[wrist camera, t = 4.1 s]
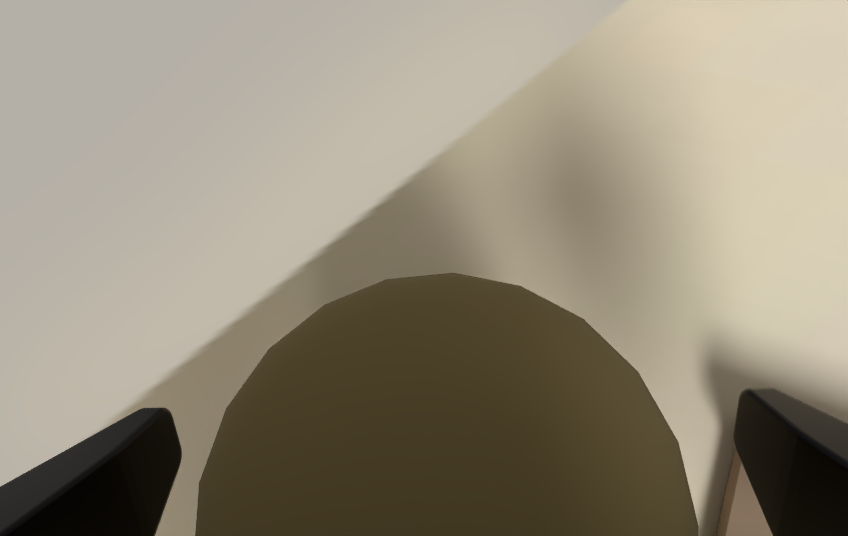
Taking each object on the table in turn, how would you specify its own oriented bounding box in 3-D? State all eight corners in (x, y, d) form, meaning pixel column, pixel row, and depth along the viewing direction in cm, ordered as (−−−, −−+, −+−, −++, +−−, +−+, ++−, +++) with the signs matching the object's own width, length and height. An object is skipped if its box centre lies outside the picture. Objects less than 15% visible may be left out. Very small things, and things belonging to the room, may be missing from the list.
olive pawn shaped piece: (492, 352, 17) (521, 96, 6) (630, 555, 14) (1008, 654, 4) (305, 469, 16) (-2, 387, 6) (420, 704, 13) (256, 1282, 3)
